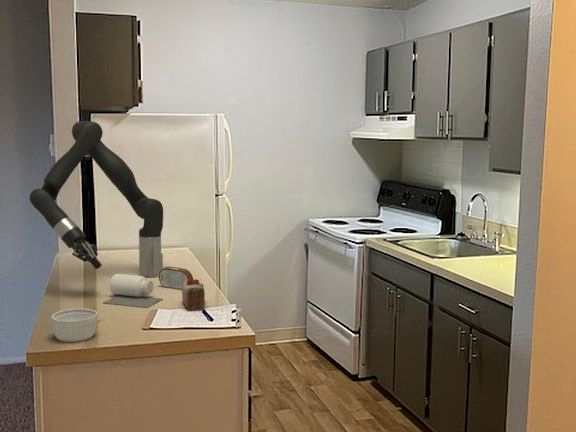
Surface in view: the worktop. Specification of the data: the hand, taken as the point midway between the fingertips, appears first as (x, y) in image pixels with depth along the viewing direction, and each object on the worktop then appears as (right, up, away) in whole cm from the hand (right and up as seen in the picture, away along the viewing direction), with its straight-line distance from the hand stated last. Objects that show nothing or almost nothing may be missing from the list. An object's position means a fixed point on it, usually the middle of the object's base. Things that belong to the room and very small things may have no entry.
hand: (99, 267), depth 234 cm
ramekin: (+5, -18, -41) cm, 45 cm away
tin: (+25, -10, +18) cm, 32 cm away
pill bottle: (+4, -7, +6) cm, 10 cm away
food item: (+36, -14, -6) cm, 39 cm away
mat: (+13, -12, -2) cm, 18 cm away
